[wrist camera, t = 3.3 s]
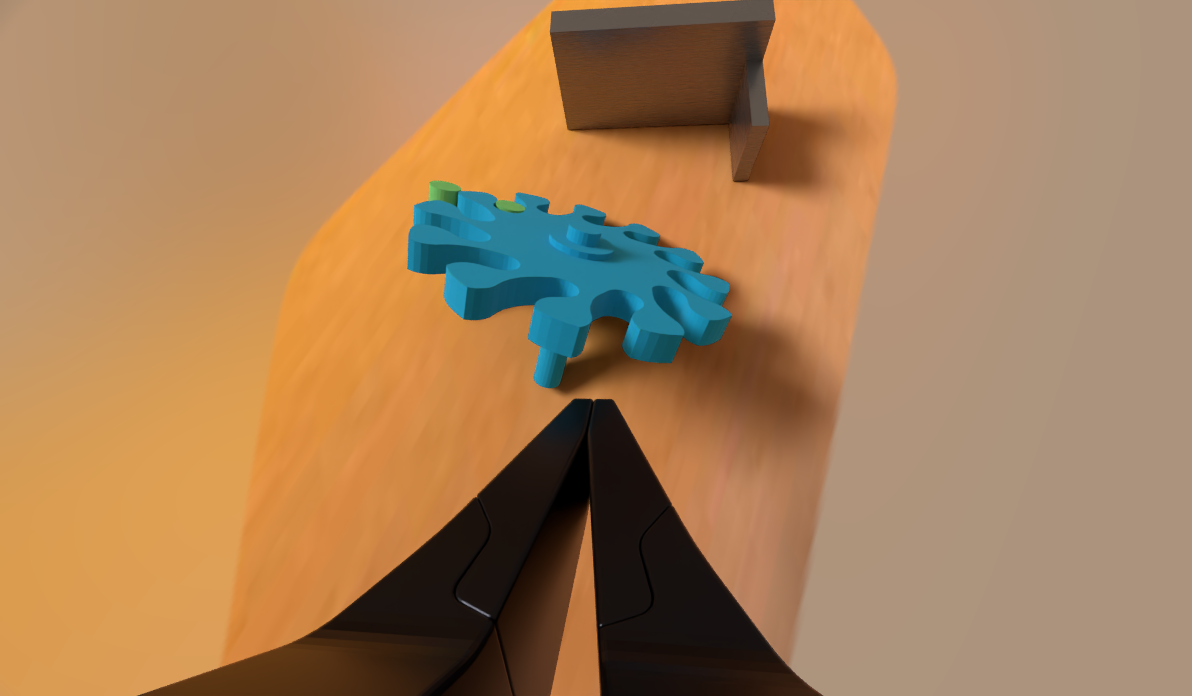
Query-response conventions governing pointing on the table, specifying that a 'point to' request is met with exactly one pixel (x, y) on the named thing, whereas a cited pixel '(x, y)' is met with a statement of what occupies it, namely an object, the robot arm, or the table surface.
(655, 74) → the bay frame
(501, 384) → the table surface
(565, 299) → the gear
